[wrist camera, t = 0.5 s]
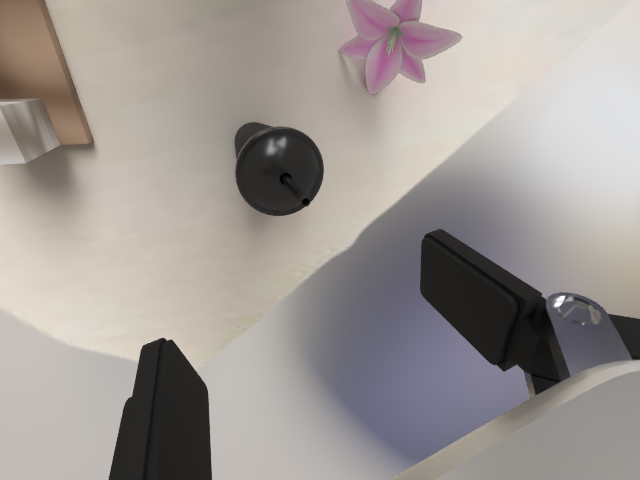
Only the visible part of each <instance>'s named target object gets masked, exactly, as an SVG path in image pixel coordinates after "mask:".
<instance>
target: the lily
mask: <svg viewBox="0 0 640 480" xmlns="http://www.w3.org/2000/svg"><path fill="white" fill-rule="evenodd" d="M346 3H347V7H348V10H349V14H350V16H351V19H352V22H353V25H354V27H355V29H356V31H357V33H358V34H359V36H357V37H355V38H353V39H352V40H350V41H349V42H347V43H346V44H344V45H343V46H342V47H340V48H339V51H340V52H341V53H342V54H344V55H347V56H350V57H353V58H357V59H363V60H366V65H365V76H366V85H367V90H368V92H369V93H370V94H375V93H377V92H379V91H380V90H382V89H383V88H384V87H386V86H387V85H388V84H389V83H390V82H391V81H392V80H394V78H395V77H396V76H397V74H398V72H399V73H400V74H402V75H403V76H405V77H407V78H409V79H411V80H413V81H416V82H419V83H425V72H424V67H423V63H422V59H427V58H430V57H432V56H435V55H437V54H439V53H441V52H443V51H445V50H447V49H448V48H450V47H452V46H454V45H455V44H456V43H458V42H459V41H460V40H461V39H462V36H461V34H459V33H457V32H454V31H450V30H446V29H442V28H438V27H434V26H431V25H428V24H425V23H421V22H419V19H420V13H421V6H422V0H396V2H395V3H394V4H393V6H392V7H391V8H390V10H388V9H386V8H384V7H382V6H380V5H378V4H376V3H374V2H372V1H371V0H346Z"/></svg>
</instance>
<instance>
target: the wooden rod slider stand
mask: <svg viewBox="0 0 640 480" xmlns="http://www.w3.org/2000/svg"><path fill="white" fill-rule="evenodd" d="M91 142H93V138H92V135H91V133H90V130H89V127H88V124H87V121H86V118H85V116H84V113H83V110H82V107H81V104H80V101H79V98H78V96H77V93H76V90H75V87H74V84H73V81H72V78H71V76H70V73H69V70H68V67H67V64H66V61H65V58H64V56H63V53H62V50H61V47H60V44H59V41H58V39H57V36H56V33H55V30H54V27H53V24H52V21H51V19H50V16H49V13H48V10H47V7H46V4H45V1H44V0H0V165H2V164H21V163H28V162H29V161H31V160H33V159H35V158H37V157H39V156H41V155H43V154H45V153H47V152H48V151H50V150H52V149H54V148H56V147H58V146H60V145H73V144H90V143H91Z"/></svg>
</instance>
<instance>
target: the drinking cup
mask: <svg viewBox="0 0 640 480" xmlns="http://www.w3.org/2000/svg"><path fill="white" fill-rule="evenodd" d="M235 149H236V158H237V161H236V167H235V177H236V182H237V186H238V189H239V191H240V193H241V195H242V197H243V198H244V199H245V201H246V202H247V203H248V204H249V205H250V206H251V207H253V208H254V209H256V210H257V211H259V212H261V213H264V214H267V215H273V216H283V215H289V214H292V213H295V212H297V211H299V210H301V209H303V208H304V207H306V206H308V205H309V204H310V202H311V201H312V200H313V199H314V197H315V196H316V194H317V193H318V191H319V189H320V186H321V184H322V180H323V173H324V167H323V160H322V156H321V153H320V151H319V149H318V147H317V146H316V144H315V143H314V142H313V141H312V140H311V139H310V138H309V137H308V136H307V135H305V134H304V133H302V132H300V131H298V130H296V129H293V128H290V127H282V126H280V127H272V126H268V125H264V124H260V123H255V122H252V123H248V124H245V125H243V126H242V127H241V128H240V129H239V130H238V132H237V134H236V137H235Z"/></svg>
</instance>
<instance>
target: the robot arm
mask: <svg viewBox="0 0 640 480" xmlns="http://www.w3.org/2000/svg"><path fill="white" fill-rule="evenodd" d="M420 291H421V294H422V295H423V297H424V298H425V299H426V300H427V301H428V302H429V303H430V304H431V305H432V306H433V307H434V308H435V309H436V310H437V311H438V312H439V313H440V314H441V315H442V316H443V317H444V318H445V319H446V320H447V321H448V322H449V323H450V324H451V325H452V326H453V327H454V328H455V329H456V330H457V331H458V332H459V333H460V334H461V335H462V336H463V337H464V338H465V339H466V340H467V341H468V342H469V343H470V344H471V345H472V346H473V347H475V349H476V350H478V352H479V353H480V354H481V355H482V356H483V357H484V358H485V359H486V360H488V361H489V362H490V363H491V364H493V365H497V366H498V367H499V368H500V369H501V370H502V371H506V370H508V369H510V368H512V367H513V366H515V365H516V364H517V365H518V366H519V367H520V368H521V369H523V370H524V375H525V379H526V383H527V388H528V393H529V397H530V399H529V400H527V401H525V402H523V403H522V404H520V405H518V406H516V407H515V408H513V409H511V410H509V411H508V412H506V413H504V414H503V415H501V416H499V417H497V418H496V419H494V420H492V421H490V422H489V423H487V424H485V425H484V426H482V427H480V428H478V429H477V430H475V431H473V432H471V433H470V434H468V435H466V436H464V437H463V438H461V439H459V440H458V441H456V442H454V443H452V444H451V445H449V446H447V447H446V448H444V449H442V450H441V451H439V452H437V453H435V454H434V455H432V456H430V457H428V458H427V459H425V460H423V461H421V462H420V463H418V464H416V465H415V466H413V467H411V468H410V469H408V470H406V471H404V472H403V473H401V474H399V475H397V476H396V477H394V478H392V479H391V480H640V319H637V318H630V317H624V316H618V315H611V314H607V312H606V311H605V310H604V309H603V307H601V306H600V305H599V304H598V303H596V302H595V301H593V300H591V299H589V298H587V297H584V296H581V295H578V294H574V293H568V292H559V293H555V294H552V295H550V296H549V297H548V298H547V300H546V299H545V298H543V297H542V296H541V295H542V293H540V292H539V291H537V290H536V289H534V288H533V287H531V286H529V285H528V284H527V283H525V282H523V281H522V280H520V279H518V278H517V277H516V276H514V275H512V274H511V273H509V272H508V271H506V270H505V269H503V268H501V267H500V266H498V265H497V264H495V263H494V262H492V261H491V260H489V259H488V258H486V257H484V256H483V255H481V254H480V253H478V252H477V251H475V250H473V249H472V248H470V247H469V246H467V245H466V244H464V243H463V242H461V241H459V240H458V239H456V238H455V237H453V236H452V235H450V234H448V233H447V232H445V231H444V230H442V229H438V230H436V231H433V232H430V233H428V234H426V235H425V236H424V239H423V240H422V247H421V281H420ZM209 425H210V424H209V402H208V390H207V387H206V385H205V383H204V382H203V380H202V379H201V378H200V376H199V375H198V374H197V372H196V371H195V369H194V368H193V367H192V365H191V364H190V363H189V361H188V360H187V359H186V357H185V356H184V355H183V353H182V352H181V351H180V349H179V348H178V347H177V345H176V344H175V343H174V341H173V340H168V341H167V340H166V339H165V338H161V339H158V340H156V341H153V342H151V343H148V344H145V345H143V347H142V349H141V353H140V358H139V364H138V369H137V374H136V379H135V385H134V390H133V395H132V397H130V398H128V400H127V401H126V403H125V406H124V409H123V414H122V418H121V423H120V428H119V433H118V437H117V442H116V447H115V452H114V456H113V461H112V466H111V471H110V475H109V480H212V471H211V448H210V426H209Z"/></svg>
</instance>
